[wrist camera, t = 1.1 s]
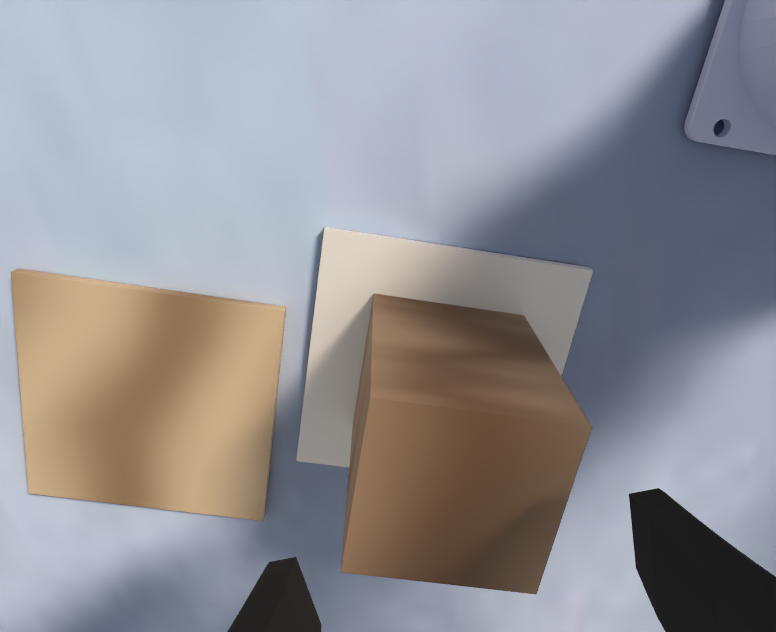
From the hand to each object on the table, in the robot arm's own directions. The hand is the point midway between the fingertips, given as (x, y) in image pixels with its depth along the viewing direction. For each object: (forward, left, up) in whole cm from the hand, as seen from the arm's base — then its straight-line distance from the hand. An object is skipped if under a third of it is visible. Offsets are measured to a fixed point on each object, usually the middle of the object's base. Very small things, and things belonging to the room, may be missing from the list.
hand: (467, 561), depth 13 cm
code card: (0, 0, -9) cm, 9 cm away
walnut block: (0, 0, -9) cm, 9 cm away
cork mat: (+10, +3, -9) cm, 14 cm away
